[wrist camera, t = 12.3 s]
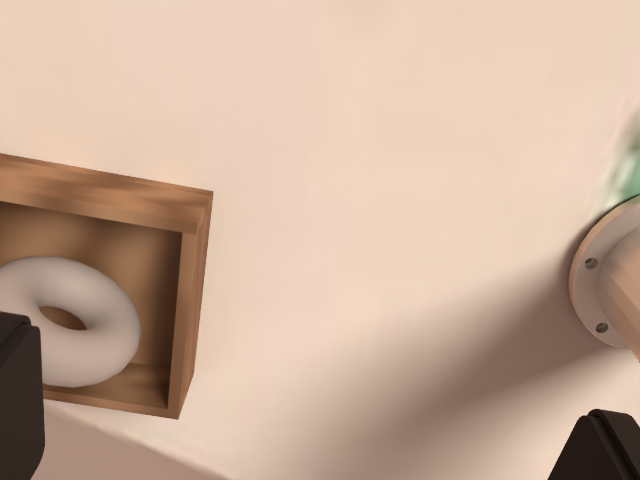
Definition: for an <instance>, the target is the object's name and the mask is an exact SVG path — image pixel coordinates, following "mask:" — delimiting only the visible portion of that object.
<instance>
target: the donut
mask: <svg viewBox="0 0 640 480" xmlns="http://www.w3.org/2000/svg"><path fill="white" fill-rule="evenodd" d="M42 306H51V307H56V308H60V309H63V310H65V311H68V312H70V313H72V314H73V315H75V316H76V317H78V318H79V319H80V320H81V321H82V322H83V323H84V324H85V326H86V328H87V330H79V331H78V330H72V329H67V328H65V327H62V326H60V325H57V324H55V323H54V322H52V321H51V320H49V319H48V318H46V317H45V316H44V315H43V314H42V313H41V312H40V309H39V307H42ZM0 311H2V312H8V313H15V314H21V315H26V316H28V317H29V318H30V320H31V325H33V326H37V327H39V329H40V333H41V355H42V380H43V383H44V384H47V385H53V386H63V387H72V388H75V387H81V386H87V385H94V384H98V383H100V382H103V381H105V380H107V379H109V378H111V377H112V376H114V375H116V374H118V373H120V372H121V371H122V370H123V369H124V368H125V367H126V365H127V364H128V363H129V362H130V361H131V359H132V358H133V357H134V356H135V354H136V352H137V349H138V345H139V341H140V337H141V326H140V321H139V316H138V312H137V310H136V308H135V307H134V305H133V303H132V302H131V300H130V298H129V296H128V295H127V293H126V292H125V291H124V290H123V289H122V288H121V287H120V286H119V285H118V284H117V283H116V282H115V281H114V280H112V279H111V278H109V277H108V276H106V275H105V274H103V273H102V272H100V271H99V270H97V269H95V268H93V267H90V266H88V265H86V264H84V263H81V262H79V261H75V260H71V259H67V258H63V257H59V256H30V257H26V258H21V259H16V260H13V261H11V262H9V263H7V264H6V265H4V266H2V267H0Z"/></svg>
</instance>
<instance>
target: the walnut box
mask: <svg viewBox="0 0 640 480" xmlns="http://www.w3.org/2000/svg"><path fill="white" fill-rule="evenodd" d="M212 200H213V191H208V190H202V189H196V188H191V187H185V186H180V185H174V184H169V183H163V182H157V181H152V180H146V179H141V178H135V177H129V176H124V175H118V174H113V173H107V172H101V171H96V170H90V169H85V168H79V167H74V166H68V165H62V164H57V163H51V162H46V161H40V160H34V159H29V158H23V157H18V156H12V155H6V154H1V153H0V267H2V266H4V265H6V264H7V263H9V262H11V261H13V260H16V259H21V258H26V257H30V256H59V257H63V258H67V259H71V260H75V261H79V262H81V263H84V264H86V265H88V266H90V267H93V268H95V269H97V270H99V271H100V272H102V273H103V274H105V275H106V276H108V277H109V278H111V279H112V280H114V281H115V282H116V283H117V284H118V285H119V286H120V287H121V288H122V289H123V290H124V291H125V292H126V293H127V295H128V296H129V298H130V300H131V302H132V303H133V305H134V307H135V308H136V310H137V312H138V316H139V321H140V326H141V337H140V341H139V345H138V349H137V352H136V354H135V356H134V357H133V358H132V359H131V361H130V362H129V363H128V364H127V365H126V367H125V368H124V369H123V370H122V371H121V372H120V373H118V374H116V375H114V376H112V377H111V378H109V379H107V380H105V381H103V382H100V383H98V384H94V385H87V386H81V387H75V388H72V387H63V386H53V385H47V384H44V383H43V399H49V400H56V401H62V402H69V403H75V404H81V405H88V406H94V407H101V408H107V409H113V410H120V411H126V412H133V413H139V414H146V415H152V416H158V417H165V418H171V419H178V418H179V415H180V412H181V409H182V406H183V404H184V401H185V398H186V395H187V392H188V389H189V386H190V383H191V380H192V377H193V374H194V366H195V357H196V347H197V338H198V329H199V320H200V311H201V301H202V292H203V283H204V274H205V264H206V255H207V246H208V237H209V228H210V218H211V209H212ZM39 309H40V312H41V313H42V314H43V315H44V316H45V317H46V318H48V319H49V320H51V321H52V322H54V323H55V324H57V325H60V326H62V327H65V328H67V329H72V330H78V331H79V330H87V328H86V326H85V324H84V323H83V322H82V321H81V320H80V319H79V318H78V317H76V316H75V315H73V314H72V313H70V312H68V311H65V310H63V309H60V308H56V307H51V306H42V307H39Z"/></svg>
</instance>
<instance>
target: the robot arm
mask: <svg viewBox="0 0 640 480" xmlns="http://www.w3.org/2000/svg"><path fill="white" fill-rule="evenodd" d="M568 289H569V294H570V299H571V303H572V305H573V308H574V310H575V312H576V314H577V316H578V317H579V318H580V320H581V321H582V323H583V324H584V326H585V327H586V328H587V329H588V330H589V331H590V332H591V333H592V334H593V335H594V336H595V337H597V338H599V339H600V340H602V341H604V342H605V343H607V344H609V345H612V346H615V347H618V348H621V349H625V350H631V351H632V353H633V354H634V355H635V357H636V358H637V359H638V361H639V362H640V195H638V196H637V197H635V198H633V199H631V200H629V201H627V202H625V203H623V204H621V205H619V206H618V207H617V208H615V209H614V210H612V211H611V212H610V213H608V214H607V215H605V216H604V217H603V218H602V219H601V220H600V221H599V222H598V223H597V224H596V225H595V226H594V227H593V228H592V229H591V230H590V232H589V233H588V234H587V236H586V237H585V238H584V240H583V241H582V242H581V244H580V246H579V248H578V250H577V252H576V254H575V256H574V258H573V261H572V265H571V269H570V272H569V287H568ZM44 447H45V431H44V405H43V380H42V355H41V333H40V329H39V327H37V326H33V325H31V320H30V318H29V317H28V316H26V315H21V314H15V313H8V312H2V311H0V480H30V479H31V477H32V476H33V474H34V472H35V470H36V469H37V467H38V465H39V463H40V461H41V458H42V456H43V452H44ZM548 480H640V427H639V426H638V424H637V423H636V421H635V420H634V419H633V417H632V416H630V415H628V414H625V413H619V412H613V411H607V410H601V409H593V410H592V411H590V412H589V413H588V415H587V416H581V417H580V418H579V419H578V421H577V422H576V424H575V426H574V428H573V430H572V432H571V434H570V436H569V438H568V440H567V442H566V444H565V446H564V448H563V450H562V452H561V454H560V456H559V458H558V460H557V462H556V464H555V466H554V468H553V470H552V472H551V474H550V476H549V478H548Z"/></svg>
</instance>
